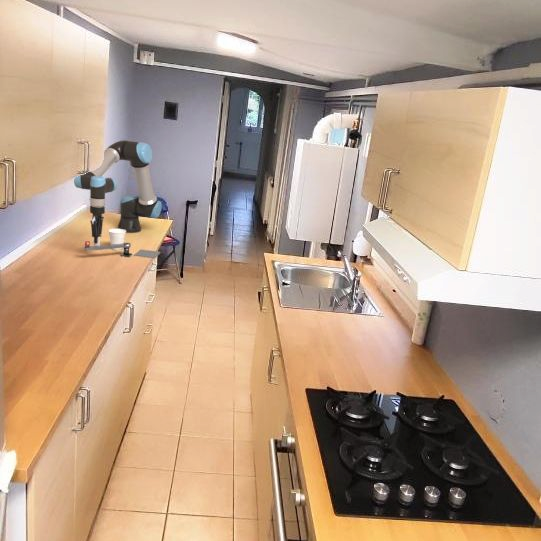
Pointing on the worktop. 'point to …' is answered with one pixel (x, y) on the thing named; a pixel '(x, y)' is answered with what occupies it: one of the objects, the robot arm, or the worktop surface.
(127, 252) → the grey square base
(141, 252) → the mat
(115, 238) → the cup
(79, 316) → the worktop surface
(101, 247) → the lever
